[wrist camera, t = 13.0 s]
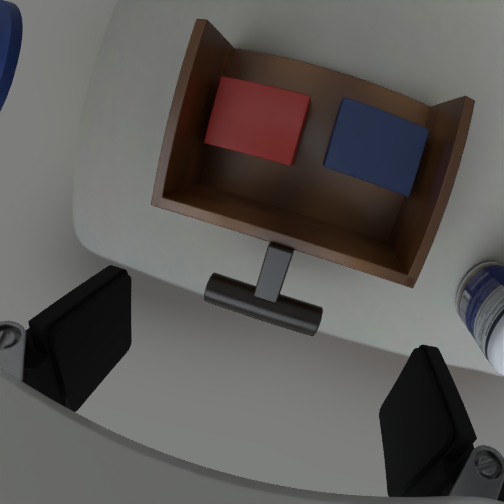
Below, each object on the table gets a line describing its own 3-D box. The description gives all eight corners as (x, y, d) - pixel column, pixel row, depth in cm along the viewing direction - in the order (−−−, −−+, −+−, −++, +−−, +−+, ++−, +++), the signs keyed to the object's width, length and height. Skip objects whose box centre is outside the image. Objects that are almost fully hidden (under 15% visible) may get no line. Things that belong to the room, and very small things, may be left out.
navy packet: (322, 164, 19) (323, 166, 16) (339, 103, 17) (343, 96, 15) (397, 190, 18) (409, 197, 16) (415, 131, 17) (429, 129, 14)
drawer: (181, 244, 23) (134, 280, 17) (228, 49, 18) (191, 14, 12) (367, 304, 22) (380, 361, 15) (434, 110, 16) (481, 99, 10)
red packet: (218, 143, 20) (203, 143, 17) (233, 84, 18) (220, 75, 15) (294, 164, 19) (290, 166, 16) (311, 103, 18) (310, 95, 15)
